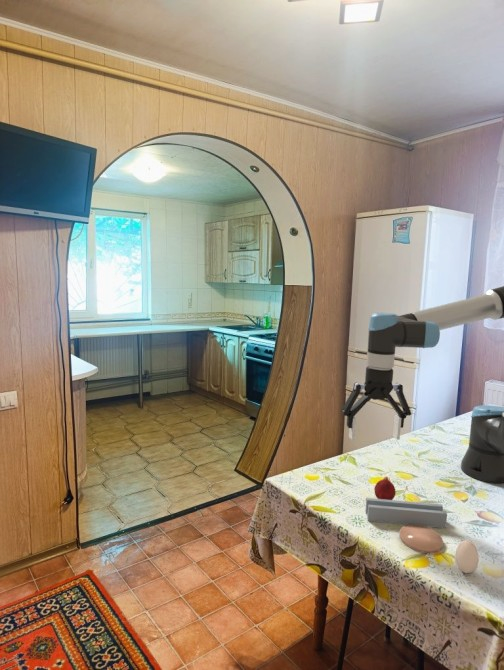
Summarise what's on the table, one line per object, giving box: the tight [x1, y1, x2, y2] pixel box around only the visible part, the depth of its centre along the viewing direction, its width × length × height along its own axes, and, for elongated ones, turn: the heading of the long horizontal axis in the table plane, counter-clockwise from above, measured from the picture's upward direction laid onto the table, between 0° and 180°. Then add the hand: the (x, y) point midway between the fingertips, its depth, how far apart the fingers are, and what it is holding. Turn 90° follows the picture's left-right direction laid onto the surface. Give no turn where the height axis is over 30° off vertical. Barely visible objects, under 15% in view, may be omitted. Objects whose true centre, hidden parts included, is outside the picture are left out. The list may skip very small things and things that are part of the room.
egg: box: [454, 539, 480, 574], centre depth 96 cm, size 5×5×7 cm
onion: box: [374, 476, 397, 500], centre depth 124 cm, size 6×6×8 cm
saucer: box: [399, 524, 444, 554], centre depth 108 cm, size 10×10×1 cm
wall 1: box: [365, 497, 444, 515], centre depth 118 cm, size 20×1×4 cm, turn 83°
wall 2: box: [366, 505, 448, 529], centre depth 114 cm, size 20×1×4 cm, turn 83°
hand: (374, 438), depth 126 cm, fingers open, 13 cm apart
